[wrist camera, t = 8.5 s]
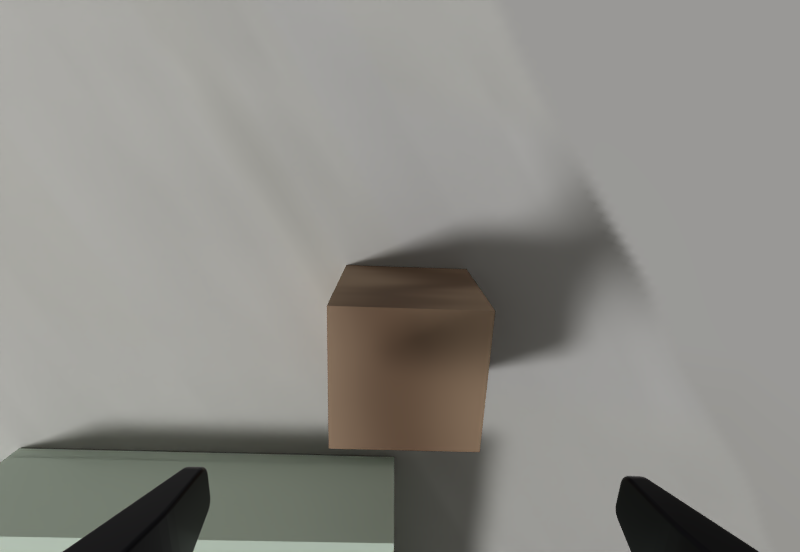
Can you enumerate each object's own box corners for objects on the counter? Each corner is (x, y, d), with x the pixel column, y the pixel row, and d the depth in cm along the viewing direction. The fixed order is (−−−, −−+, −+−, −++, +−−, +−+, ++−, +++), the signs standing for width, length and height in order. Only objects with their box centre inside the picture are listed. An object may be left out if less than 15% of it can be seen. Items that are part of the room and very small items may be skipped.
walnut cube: (466, 268, 17) (495, 310, 12) (456, 375, 18) (479, 452, 13) (346, 264, 16) (327, 305, 12) (346, 371, 18) (328, 448, 13)
